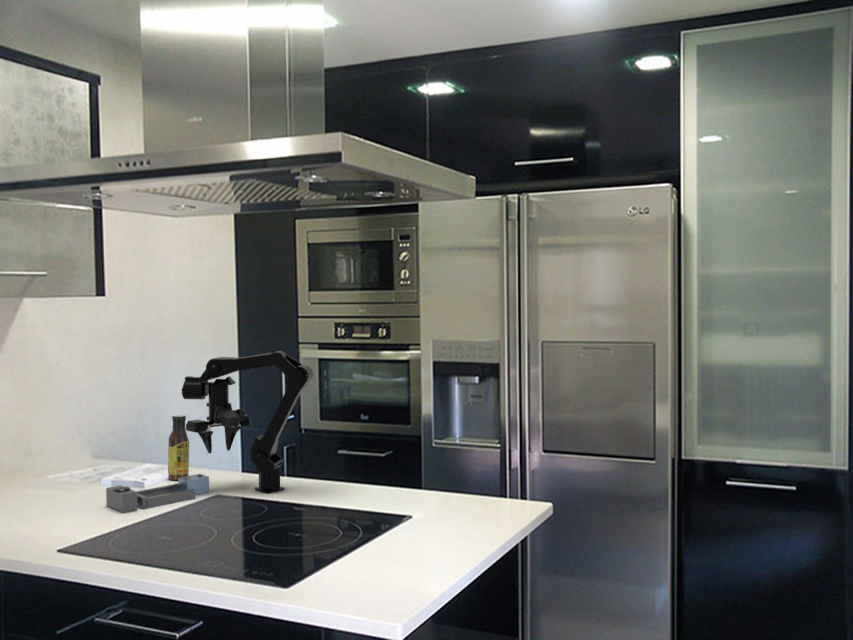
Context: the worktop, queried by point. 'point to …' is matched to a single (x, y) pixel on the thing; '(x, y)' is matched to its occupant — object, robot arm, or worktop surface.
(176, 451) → the sauce bottle
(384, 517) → the worktop surface
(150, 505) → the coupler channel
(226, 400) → the robot arm
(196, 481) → the block
